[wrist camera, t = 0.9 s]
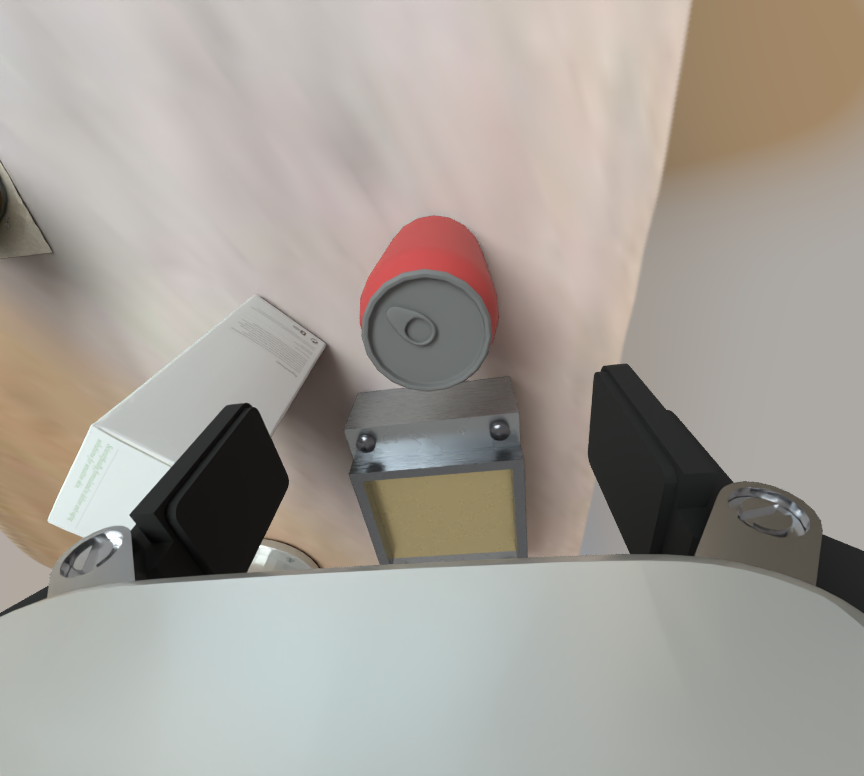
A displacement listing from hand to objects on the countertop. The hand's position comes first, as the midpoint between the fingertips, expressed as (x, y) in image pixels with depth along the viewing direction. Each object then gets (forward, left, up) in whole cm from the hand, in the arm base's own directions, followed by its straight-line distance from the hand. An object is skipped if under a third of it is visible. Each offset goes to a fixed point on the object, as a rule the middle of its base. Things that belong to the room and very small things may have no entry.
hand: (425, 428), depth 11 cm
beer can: (0, 0, -19) cm, 19 cm away
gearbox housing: (-13, -13, -18) cm, 26 cm away
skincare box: (-14, +5, -19) cm, 24 cm away
